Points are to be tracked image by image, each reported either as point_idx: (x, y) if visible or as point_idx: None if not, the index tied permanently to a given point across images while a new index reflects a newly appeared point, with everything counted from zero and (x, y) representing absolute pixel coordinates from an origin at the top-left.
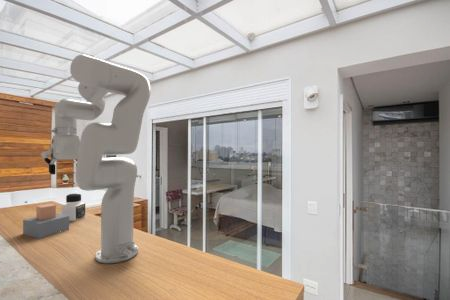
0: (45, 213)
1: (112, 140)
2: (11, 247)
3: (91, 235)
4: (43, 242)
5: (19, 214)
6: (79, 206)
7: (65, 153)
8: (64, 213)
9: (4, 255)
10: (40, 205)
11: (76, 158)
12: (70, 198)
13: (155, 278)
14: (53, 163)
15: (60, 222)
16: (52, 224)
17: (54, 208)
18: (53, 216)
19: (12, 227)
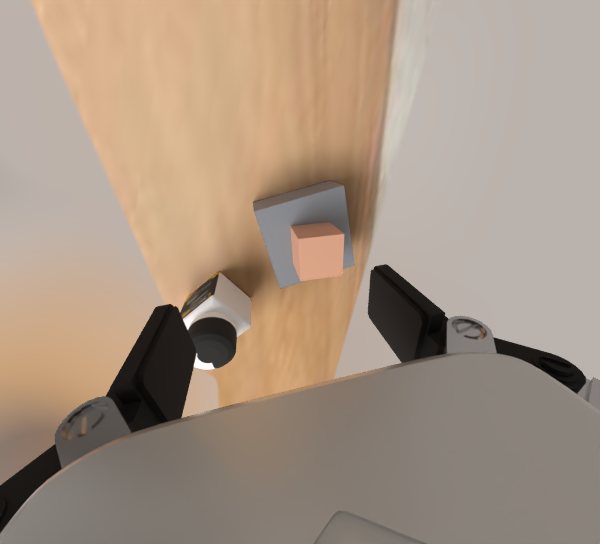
0: (323, 228)
1: None
2: (383, 162)
3: (208, 68)
4: (330, 135)
5: None
6: (200, 303)
7: (454, 517)
8: (244, 305)
9: (409, 111)
10: (333, 271)
11: (159, 425)
12: (225, 330)
13: None
14: (449, 327)
15: (279, 201)
16: (303, 194)
17: (299, 234)
18: (297, 226)
19: (340, 312)
